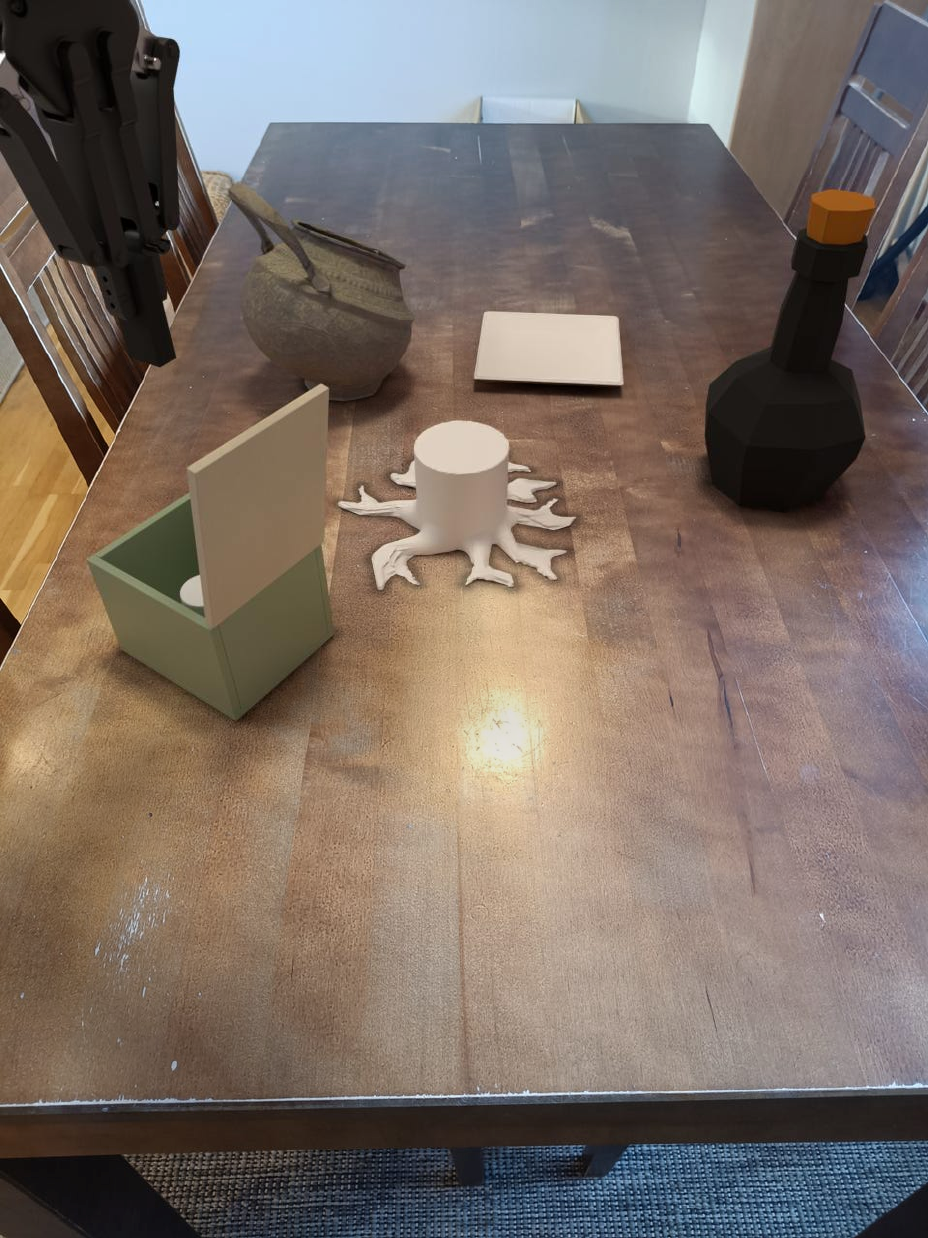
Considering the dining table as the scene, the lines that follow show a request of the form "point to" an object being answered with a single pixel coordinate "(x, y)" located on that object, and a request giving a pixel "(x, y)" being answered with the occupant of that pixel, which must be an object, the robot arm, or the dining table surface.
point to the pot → (323, 303)
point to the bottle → (795, 376)
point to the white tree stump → (462, 504)
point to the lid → (260, 503)
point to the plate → (549, 349)
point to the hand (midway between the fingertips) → (152, 357)
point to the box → (180, 638)
